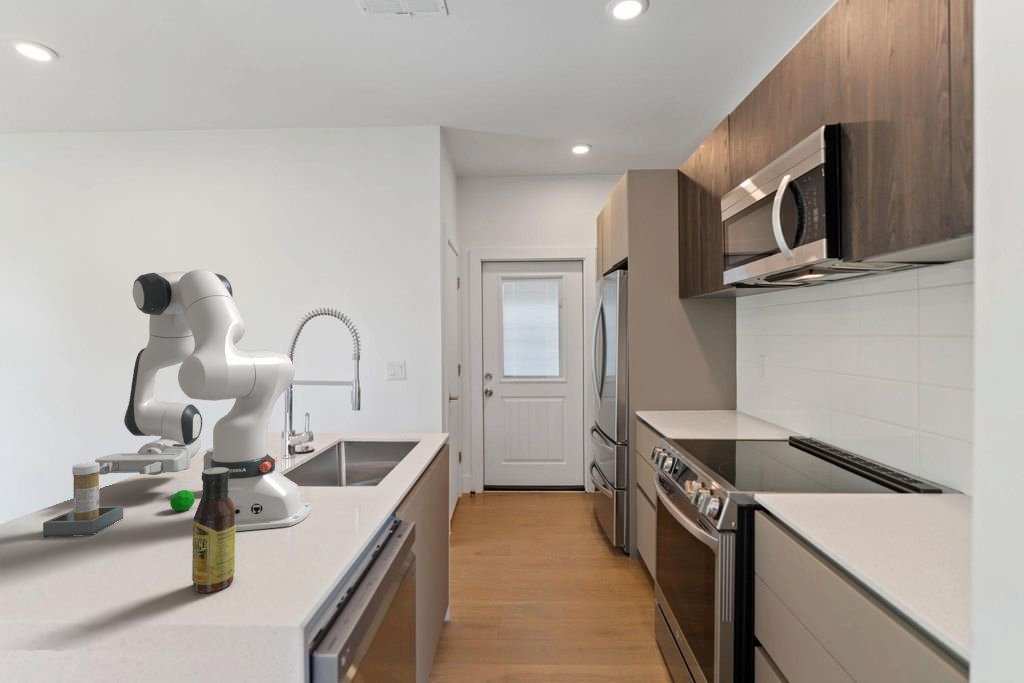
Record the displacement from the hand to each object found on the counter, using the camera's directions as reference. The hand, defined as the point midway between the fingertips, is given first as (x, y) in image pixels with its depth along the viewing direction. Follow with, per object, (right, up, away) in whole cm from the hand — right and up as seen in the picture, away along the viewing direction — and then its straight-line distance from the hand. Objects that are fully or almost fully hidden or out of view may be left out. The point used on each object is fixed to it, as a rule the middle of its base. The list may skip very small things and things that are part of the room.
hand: (122, 471), depth 122 cm
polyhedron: (+15, -10, -1) cm, 18 cm away
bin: (+1, -9, -12) cm, 15 cm away
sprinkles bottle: (+1, -9, -12) cm, 15 cm away
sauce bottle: (+45, -10, -37) cm, 59 cm away
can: (+16, -9, +14) cm, 23 cm away
